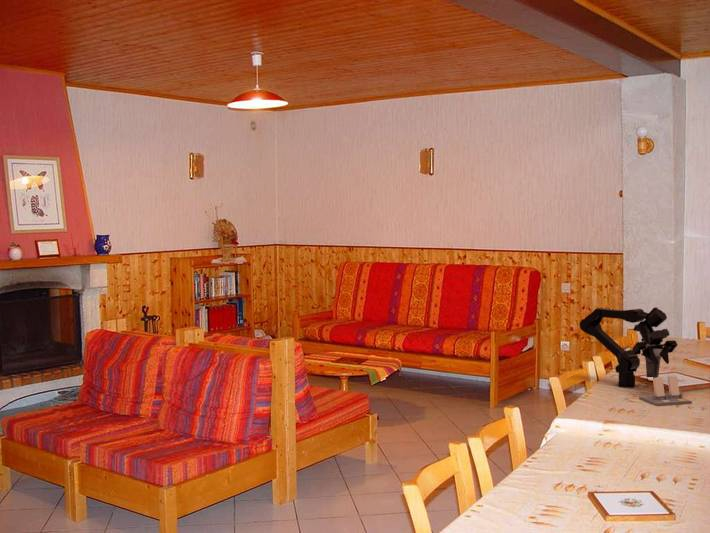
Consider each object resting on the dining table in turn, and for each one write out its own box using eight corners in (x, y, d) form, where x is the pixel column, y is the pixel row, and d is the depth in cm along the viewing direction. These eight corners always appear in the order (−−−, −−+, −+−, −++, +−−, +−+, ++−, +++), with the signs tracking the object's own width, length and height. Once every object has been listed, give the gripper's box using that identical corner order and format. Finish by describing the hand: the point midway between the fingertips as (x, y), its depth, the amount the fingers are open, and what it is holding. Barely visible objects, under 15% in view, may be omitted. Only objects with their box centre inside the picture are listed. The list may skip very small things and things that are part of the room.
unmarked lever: (654, 398, 335) (652, 377, 337) (663, 397, 336) (660, 377, 337) (656, 398, 334) (654, 377, 335) (665, 397, 335) (662, 377, 336)
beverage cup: (658, 379, 378) (659, 336, 377) (662, 382, 371) (663, 338, 369) (642, 379, 379) (643, 335, 377) (646, 382, 372) (647, 338, 370)
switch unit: (639, 399, 340) (639, 392, 339) (673, 396, 343) (673, 389, 343) (656, 406, 328) (656, 398, 328) (691, 403, 332) (691, 396, 332)
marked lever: (669, 397, 337) (667, 377, 338) (678, 396, 338) (675, 376, 339) (671, 397, 335) (669, 376, 337) (680, 396, 336) (677, 376, 338)
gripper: (636, 323, 346) (651, 353, 336) (675, 321, 350) (691, 351, 341) (625, 338, 354) (640, 369, 344) (663, 337, 359) (679, 366, 349)
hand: (662, 363), depth 344 cm, fingers open, 5 cm apart
